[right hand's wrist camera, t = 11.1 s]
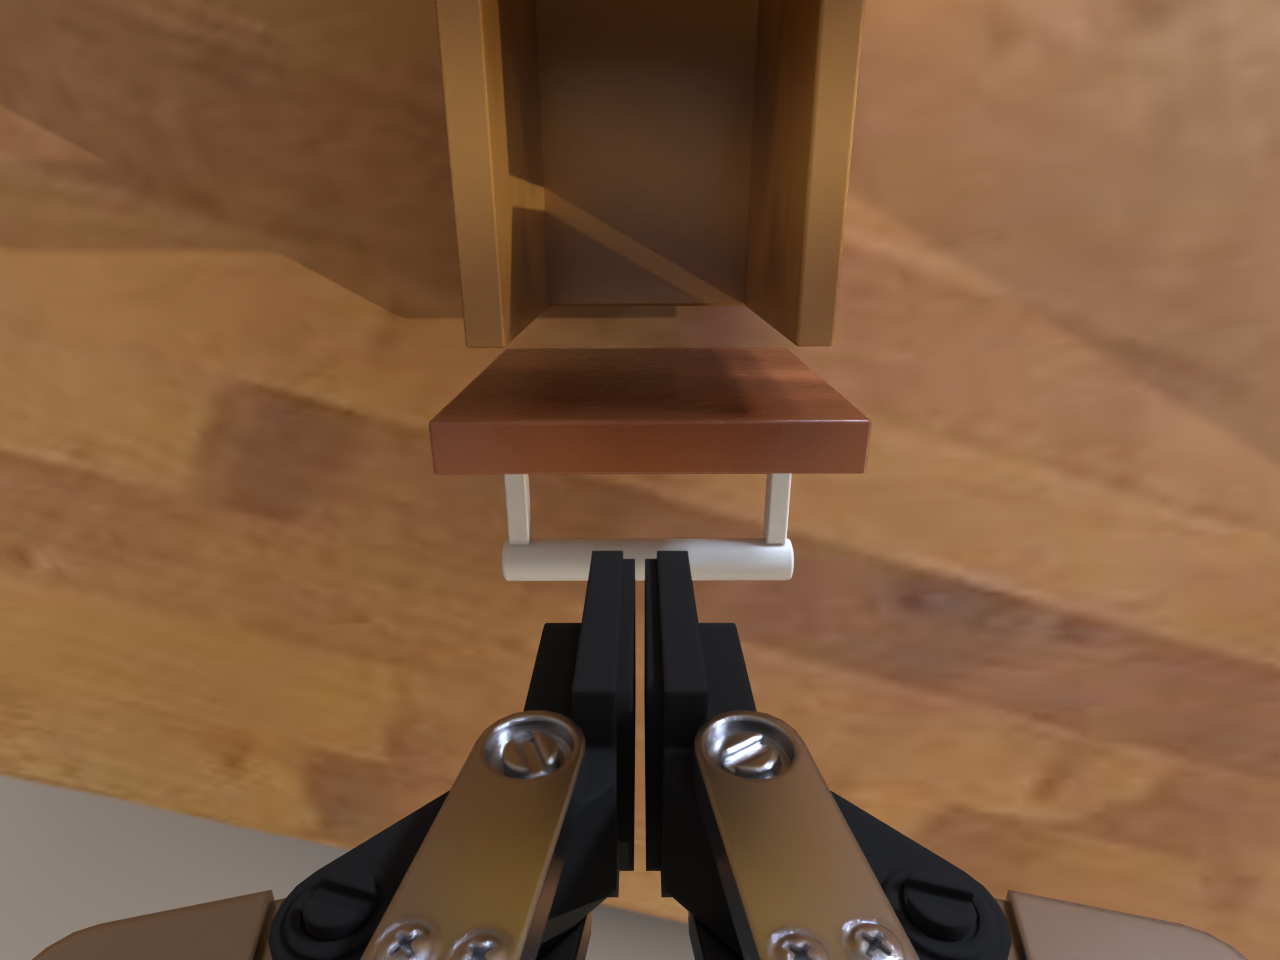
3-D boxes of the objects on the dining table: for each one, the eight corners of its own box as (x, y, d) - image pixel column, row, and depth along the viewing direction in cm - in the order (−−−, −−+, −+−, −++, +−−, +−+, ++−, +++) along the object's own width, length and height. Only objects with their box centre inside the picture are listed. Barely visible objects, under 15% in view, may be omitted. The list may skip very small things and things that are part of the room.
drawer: (775, 522, 25) (844, 673, 17) (517, 523, 25) (455, 675, 17) (825, -201, 18) (988, -572, 10) (467, -200, 18) (316, -569, 10)
